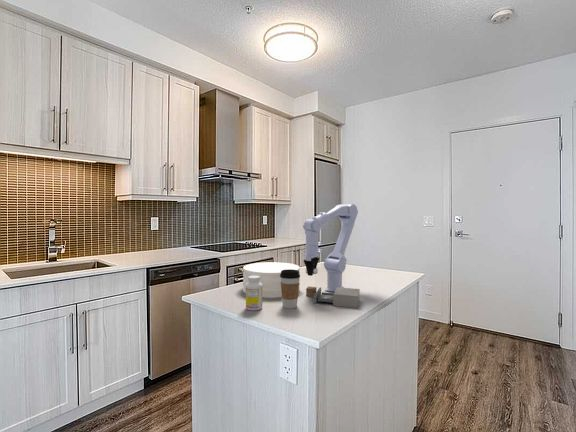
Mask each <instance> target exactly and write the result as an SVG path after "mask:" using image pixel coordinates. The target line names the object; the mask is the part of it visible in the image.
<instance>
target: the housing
mask: <svg viewBox="0 0 576 432" xmlns="http://www.w3.org/2000/svg"><path fill="white" fill-rule="evenodd" d="M333 292H334V291H333ZM360 292H361V291H360V288H351V287H350V288H349V287H344V288H340V287H337V288H336V290H335V292H334V294H333V303H332V304H333V305H332V306H336V307H343V306H344V308H354V307H356V309H357V308H359V304H360V296H361V295H360V294H361V293H360Z"/></svg>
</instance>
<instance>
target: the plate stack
mask: <svg viewBox="0 0 576 432" xmlns="http://www.w3.org/2000/svg"><path fill="white" fill-rule="evenodd" d="M287 269H292V270H298V271H299V274H300V273H301V272H300V271H301V270H300V269H301V267H300V265H298V264H294V263H290V262H279V261H277V262H275V261H273V262H272V261H267V262H263V261H262V262H255V263H249V264H245V265H244V266H243V268H242V270H243V272H242V276H243V277H242V281H243V282H242V286H243V287H242V292H243V293H244V294H246V284H247V283H248V282H249V280H248V277H249V276H260V280H259V282H260V283H262V298H266V299H267V298H269V299H270V298H271V299H272V298H273V299H274V298H282V292H281V277H280V274H281V271H282V270H287ZM300 275H301V274H300ZM300 277H301V276H300ZM300 277H299V290H298V293H299V292H300V284H301V283H300Z"/></svg>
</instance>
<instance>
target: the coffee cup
mask: <svg viewBox="0 0 576 432" xmlns="http://www.w3.org/2000/svg"><path fill="white" fill-rule="evenodd" d="M299 272H300V270H299V271H298V270H292V269H287V270H282V271H281V274H280V277H281V292H282V297H281V298H282V299H281V301H282V307H283V308H285V309H295V308H297V307H298V297H299V292H298V290H299V288H300V286H299V283H300V281H299V277H301V274H299ZM299 291H300V290H299Z"/></svg>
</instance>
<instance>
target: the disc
mask: <svg viewBox="0 0 576 432" xmlns="http://www.w3.org/2000/svg"><path fill="white" fill-rule="evenodd" d="M305 274H307V269H306V268H305ZM316 274H318V268H317V267H316V268H314V271H313V275H316Z"/></svg>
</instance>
